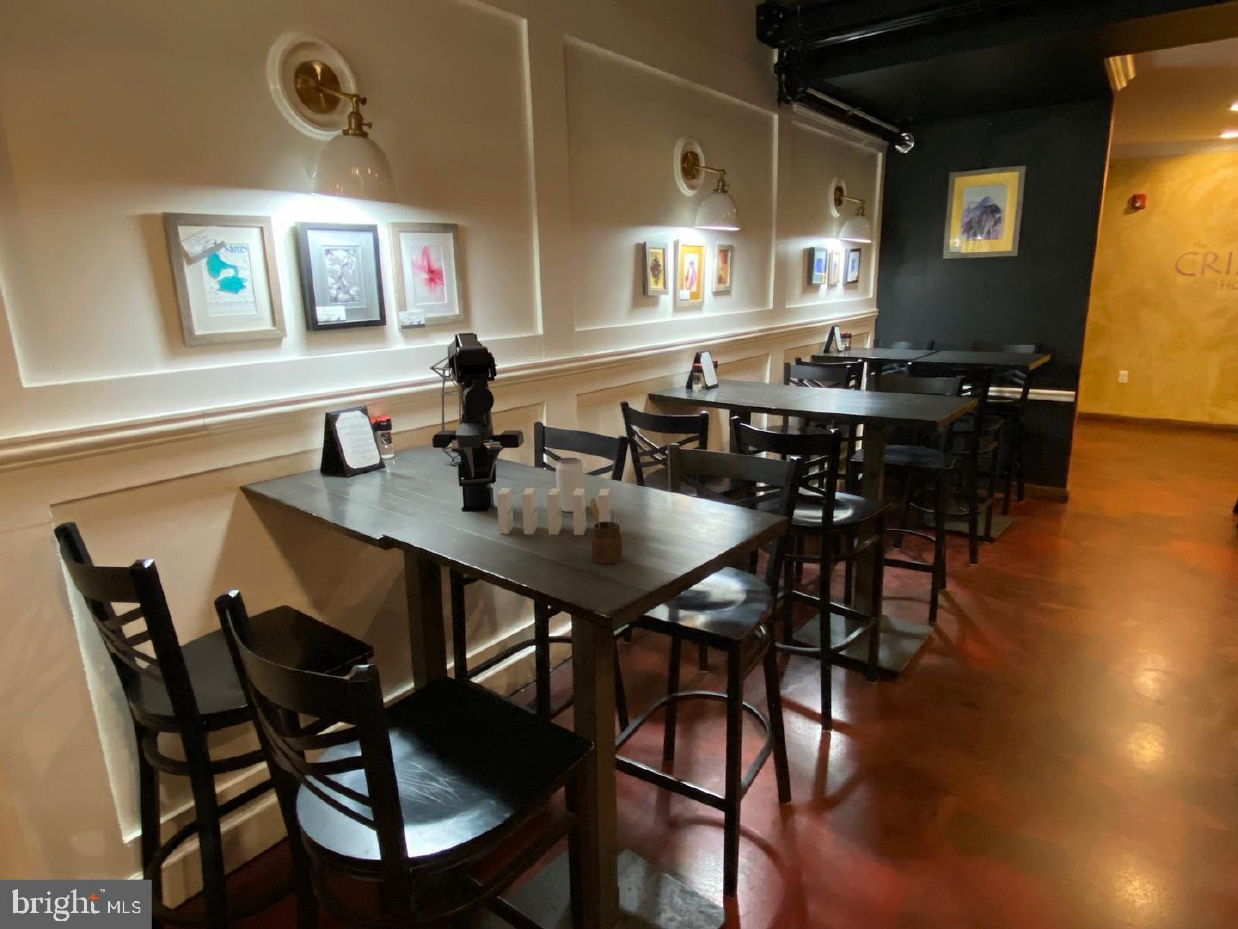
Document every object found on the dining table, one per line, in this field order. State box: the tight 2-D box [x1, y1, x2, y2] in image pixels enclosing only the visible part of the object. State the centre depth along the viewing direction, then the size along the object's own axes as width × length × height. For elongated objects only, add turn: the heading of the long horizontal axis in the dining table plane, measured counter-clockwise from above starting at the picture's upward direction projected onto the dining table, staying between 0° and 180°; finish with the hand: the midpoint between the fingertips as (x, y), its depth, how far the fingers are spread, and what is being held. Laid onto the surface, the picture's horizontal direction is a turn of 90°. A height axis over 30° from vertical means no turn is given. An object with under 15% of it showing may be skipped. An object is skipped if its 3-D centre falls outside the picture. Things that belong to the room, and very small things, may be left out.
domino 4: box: [572, 488, 587, 536], centre depth 155 cm, size 2×5×9 cm, turn 175°
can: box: [555, 457, 585, 513], centre depth 171 cm, size 6×6×12 cm
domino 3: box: [546, 487, 563, 536], centre depth 156 cm, size 2×5×9 cm, turn 175°
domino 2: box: [521, 487, 538, 535], centre depth 156 cm, size 2×5×9 cm, turn 175°
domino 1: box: [496, 487, 514, 535], centre depth 157 cm, size 2×5×9 cm, turn 175°
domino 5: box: [597, 488, 612, 522], centre depth 155 cm, size 2×5×9 cm, turn 175°
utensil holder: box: [589, 497, 623, 565], centre depth 139 cm, size 6×6×12 cm
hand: (480, 477), depth 155 cm, fingers open, 4 cm apart
